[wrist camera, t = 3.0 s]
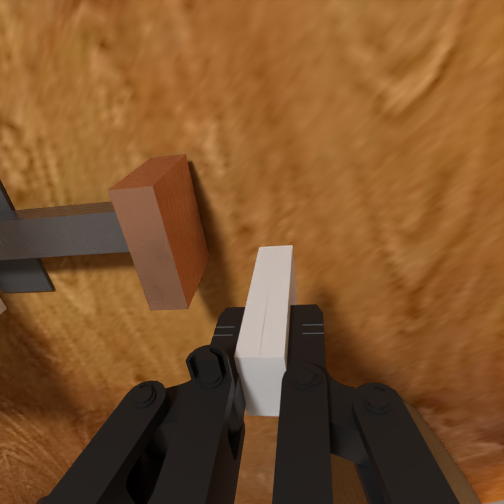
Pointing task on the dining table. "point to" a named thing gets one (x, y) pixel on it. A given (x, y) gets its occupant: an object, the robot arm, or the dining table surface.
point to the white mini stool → (20, 267)
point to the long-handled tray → (126, 231)
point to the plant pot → (346, 478)
